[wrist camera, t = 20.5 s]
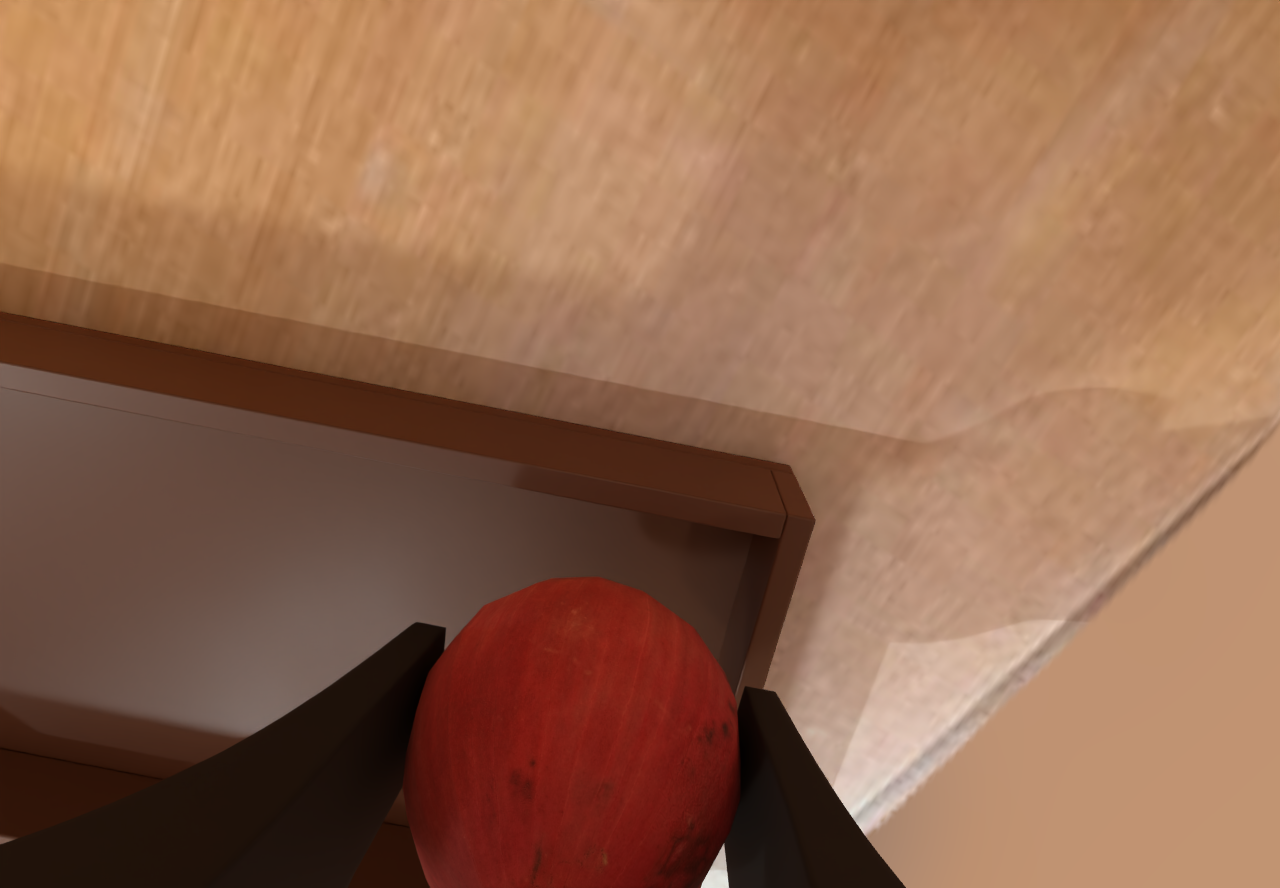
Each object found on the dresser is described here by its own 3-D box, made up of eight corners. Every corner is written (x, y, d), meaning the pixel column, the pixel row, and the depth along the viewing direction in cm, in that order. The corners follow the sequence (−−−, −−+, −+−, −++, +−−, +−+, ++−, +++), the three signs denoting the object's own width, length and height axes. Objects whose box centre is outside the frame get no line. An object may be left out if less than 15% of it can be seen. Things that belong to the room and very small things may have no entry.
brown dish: (790, 465, 15) (816, 520, 12) (673, 872, 20) (672, 980, 17) (-368, 239, 15) (-615, 241, 12) (-202, 703, 20) (-351, 782, 17)
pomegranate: (763, 556, 14) (863, 953, 6) (678, 744, 16) (675, 1221, 8) (515, 476, 13) (303, 787, 6) (459, 676, 15) (245, 1105, 8)
